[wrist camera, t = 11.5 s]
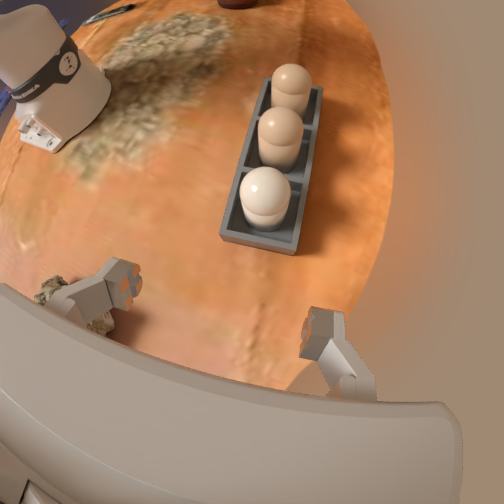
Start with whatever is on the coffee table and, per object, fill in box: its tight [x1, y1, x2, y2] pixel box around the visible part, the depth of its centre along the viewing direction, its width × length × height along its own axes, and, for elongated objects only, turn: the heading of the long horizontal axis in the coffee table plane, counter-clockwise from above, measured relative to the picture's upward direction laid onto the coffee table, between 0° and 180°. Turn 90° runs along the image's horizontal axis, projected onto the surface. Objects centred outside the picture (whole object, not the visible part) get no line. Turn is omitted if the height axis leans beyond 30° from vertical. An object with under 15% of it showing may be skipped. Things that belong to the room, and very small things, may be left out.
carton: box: [219, 64, 323, 256], centre depth 27 cm, size 8×22×9 cm, turn 167°
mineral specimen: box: [34, 275, 114, 338], centre depth 26 cm, size 12×9×8 cm
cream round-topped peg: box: [240, 167, 291, 233], centre depth 25 cm, size 4×4×8 cm
